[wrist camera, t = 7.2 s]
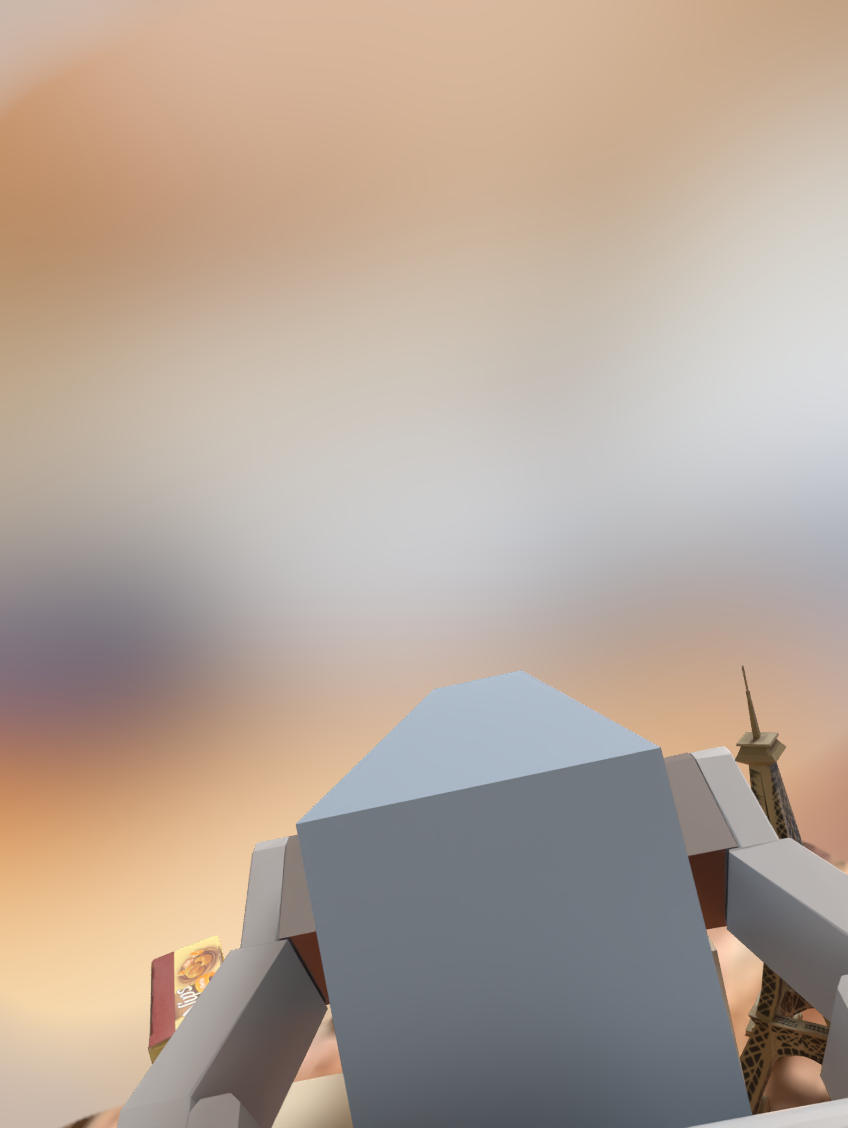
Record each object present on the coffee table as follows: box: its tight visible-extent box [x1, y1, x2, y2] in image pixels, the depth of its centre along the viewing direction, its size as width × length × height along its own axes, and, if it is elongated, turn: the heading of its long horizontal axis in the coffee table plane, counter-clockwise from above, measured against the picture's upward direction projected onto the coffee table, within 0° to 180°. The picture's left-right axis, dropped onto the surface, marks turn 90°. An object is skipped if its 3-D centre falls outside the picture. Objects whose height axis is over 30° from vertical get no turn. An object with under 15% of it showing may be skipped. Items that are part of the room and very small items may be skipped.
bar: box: [296, 670, 752, 1128], centre depth 21 cm, size 4×26×4 cm, turn 178°
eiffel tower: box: [735, 666, 831, 1115], centre depth 42 cm, size 11×11×25 cm
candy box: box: [148, 935, 224, 1064], centre depth 41 cm, size 9×4×15 cm, turn 20°
